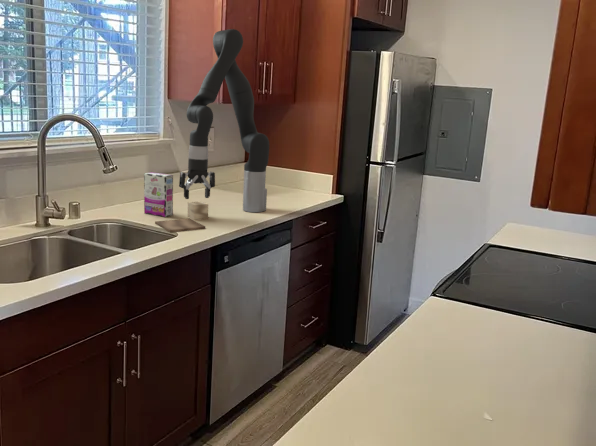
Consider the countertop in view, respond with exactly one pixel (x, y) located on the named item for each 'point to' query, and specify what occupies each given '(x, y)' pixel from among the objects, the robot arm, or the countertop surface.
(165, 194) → the candy bar box
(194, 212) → the maple cube
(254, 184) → the robot arm
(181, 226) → the walnut board
